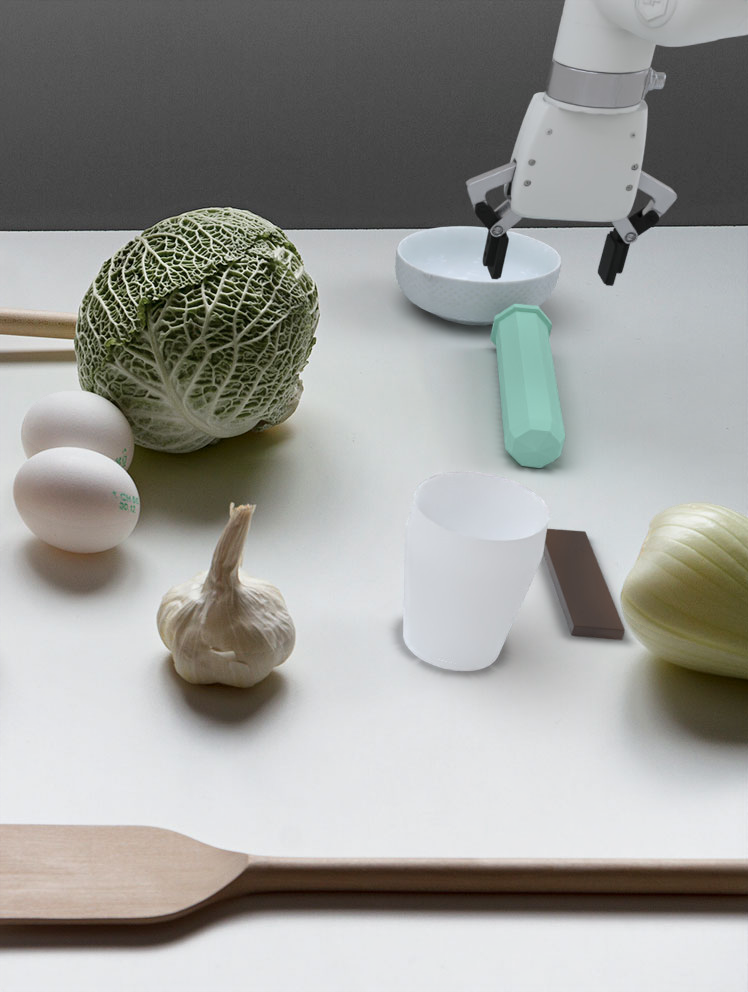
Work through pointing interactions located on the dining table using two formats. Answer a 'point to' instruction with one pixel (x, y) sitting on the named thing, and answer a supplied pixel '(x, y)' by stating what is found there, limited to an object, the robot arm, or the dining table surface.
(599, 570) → the walnut strip
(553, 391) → the container
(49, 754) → the dining table surface
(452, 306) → the cereal bowl
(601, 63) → the robot arm
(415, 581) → the cup
